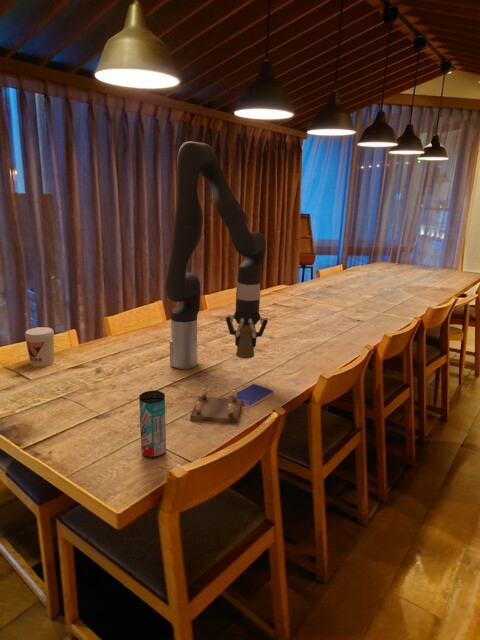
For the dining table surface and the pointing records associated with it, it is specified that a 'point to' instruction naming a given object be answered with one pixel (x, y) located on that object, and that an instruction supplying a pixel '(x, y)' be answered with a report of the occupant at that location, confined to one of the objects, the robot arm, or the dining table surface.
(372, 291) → the dining table surface
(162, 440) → the beverage can
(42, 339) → the coffee cup
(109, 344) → the dining table surface
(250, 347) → the cork
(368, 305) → the dining table surface
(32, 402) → the dining table surface
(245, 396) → the hard drive
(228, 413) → the walnut stand
